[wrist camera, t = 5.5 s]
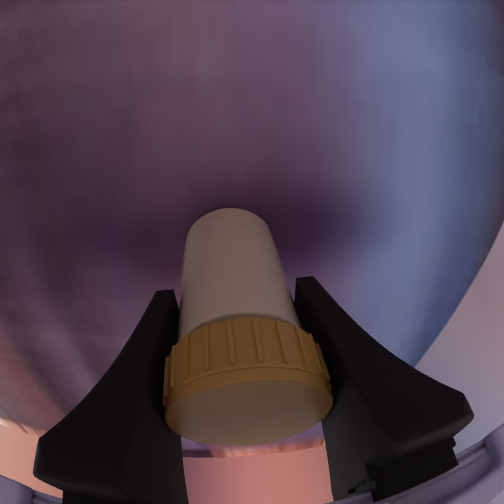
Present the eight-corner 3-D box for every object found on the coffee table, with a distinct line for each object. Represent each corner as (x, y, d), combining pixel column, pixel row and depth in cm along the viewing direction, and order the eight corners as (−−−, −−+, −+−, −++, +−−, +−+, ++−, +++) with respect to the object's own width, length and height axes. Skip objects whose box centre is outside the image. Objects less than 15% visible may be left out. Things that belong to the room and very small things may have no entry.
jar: (177, 213, 13) (156, 369, 6) (272, 202, 13) (328, 349, 7) (193, 284, 15) (191, 430, 9) (273, 275, 15) (310, 416, 9)
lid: (181, 404, 10) (181, 449, 8) (148, 320, 7) (139, 384, 6) (308, 392, 10) (319, 435, 9) (331, 305, 8) (355, 363, 6)
